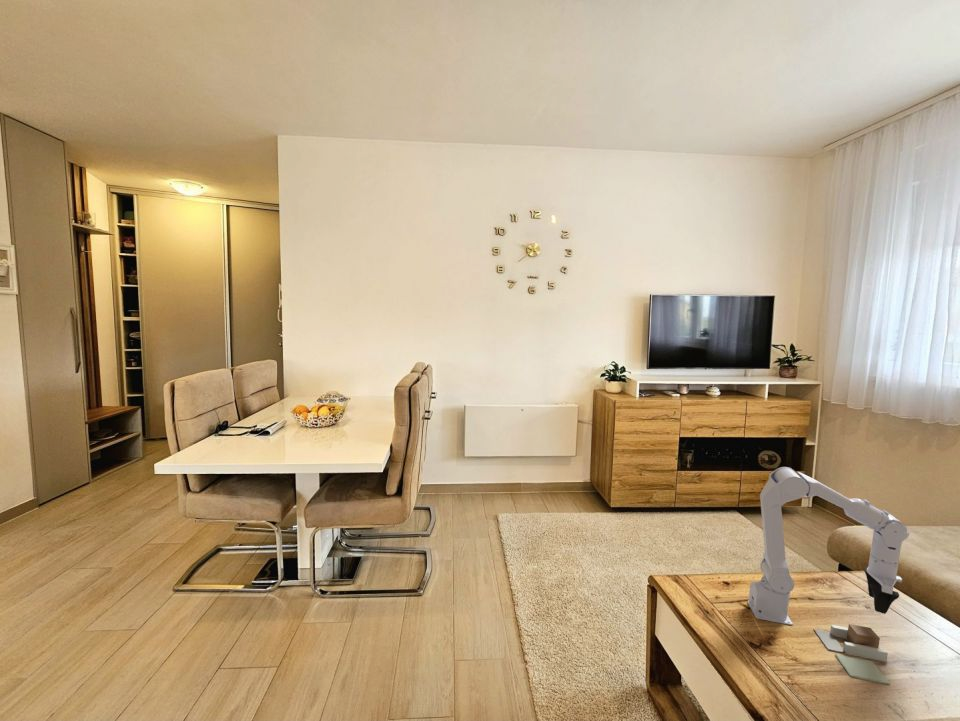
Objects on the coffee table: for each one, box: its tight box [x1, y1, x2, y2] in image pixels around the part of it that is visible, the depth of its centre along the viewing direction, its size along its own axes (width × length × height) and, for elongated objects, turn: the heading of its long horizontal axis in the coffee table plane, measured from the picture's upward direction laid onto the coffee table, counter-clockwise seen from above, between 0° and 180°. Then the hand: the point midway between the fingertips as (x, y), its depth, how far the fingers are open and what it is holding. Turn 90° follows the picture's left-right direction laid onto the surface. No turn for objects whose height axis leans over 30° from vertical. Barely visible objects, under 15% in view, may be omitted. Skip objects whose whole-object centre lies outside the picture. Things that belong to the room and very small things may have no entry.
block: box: [846, 623, 881, 648], centre depth 116 cm, size 5×4×5 cm
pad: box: [834, 653, 890, 686], centre depth 109 cm, size 8×7×1 cm
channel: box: [813, 624, 889, 663], centre depth 117 cm, size 13×8×2 cm, turn 75°
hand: (877, 604), depth 120 cm, fingers open, 7 cm apart
